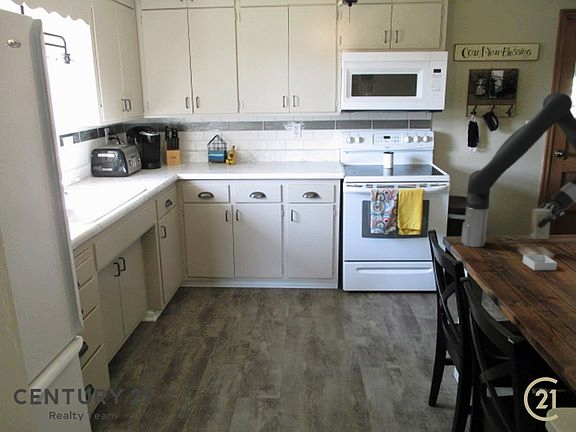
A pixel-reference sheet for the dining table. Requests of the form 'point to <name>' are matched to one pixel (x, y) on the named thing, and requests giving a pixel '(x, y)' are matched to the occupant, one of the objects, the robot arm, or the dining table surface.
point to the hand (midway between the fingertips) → (535, 224)
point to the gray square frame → (539, 262)
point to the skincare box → (535, 229)
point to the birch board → (535, 251)
